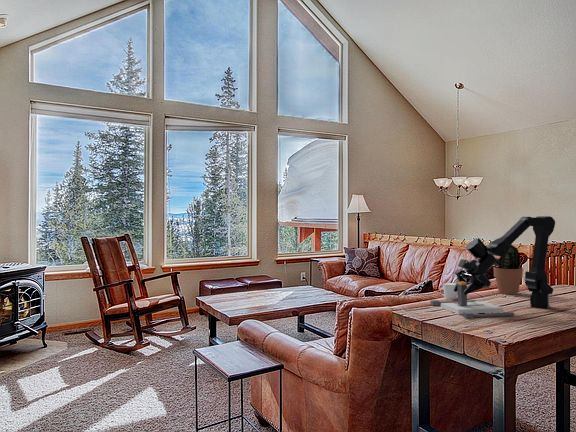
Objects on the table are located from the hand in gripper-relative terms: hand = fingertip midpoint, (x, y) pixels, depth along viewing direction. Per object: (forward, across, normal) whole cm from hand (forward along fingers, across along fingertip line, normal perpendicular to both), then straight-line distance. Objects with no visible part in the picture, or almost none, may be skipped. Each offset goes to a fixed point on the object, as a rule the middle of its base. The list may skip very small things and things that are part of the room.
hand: (459, 292), depth 185 cm
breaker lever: (+3, 0, +5) cm, 5 cm away
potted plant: (-28, -34, +39) cm, 59 cm away
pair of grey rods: (+2, 0, +9) cm, 9 cm away
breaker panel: (+2, 0, +9) cm, 9 cm away
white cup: (-3, -27, +14) cm, 31 cm away
